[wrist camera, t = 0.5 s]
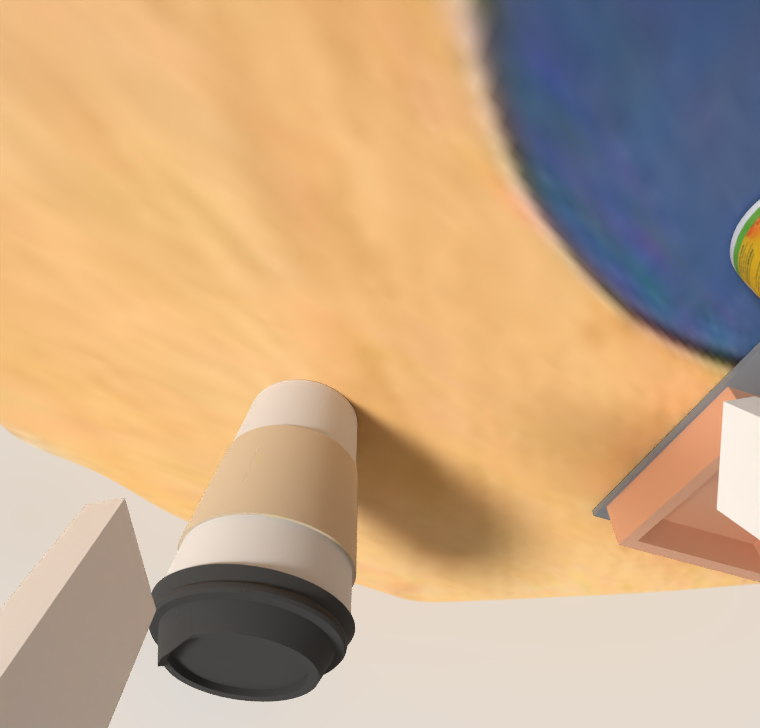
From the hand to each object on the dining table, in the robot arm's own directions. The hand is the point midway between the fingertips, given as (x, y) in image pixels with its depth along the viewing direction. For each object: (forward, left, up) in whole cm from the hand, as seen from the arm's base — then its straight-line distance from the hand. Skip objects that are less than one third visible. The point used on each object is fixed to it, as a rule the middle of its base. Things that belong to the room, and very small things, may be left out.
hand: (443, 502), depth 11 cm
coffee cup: (+15, -3, -16) cm, 23 cm away
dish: (+9, +24, -16) cm, 31 cm away
